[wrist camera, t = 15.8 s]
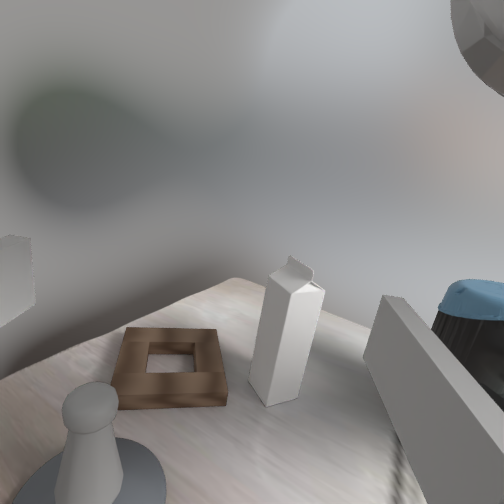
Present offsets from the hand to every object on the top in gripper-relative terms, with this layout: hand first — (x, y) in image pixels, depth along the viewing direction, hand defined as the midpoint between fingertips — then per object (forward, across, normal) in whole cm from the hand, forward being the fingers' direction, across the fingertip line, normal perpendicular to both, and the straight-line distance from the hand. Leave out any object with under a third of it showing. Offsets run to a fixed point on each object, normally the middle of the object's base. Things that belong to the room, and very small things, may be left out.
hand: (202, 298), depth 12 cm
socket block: (+31, -9, -30) cm, 44 cm away
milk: (+30, +8, -31) cm, 44 cm away
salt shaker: (+10, -10, -29) cm, 33 cm away
